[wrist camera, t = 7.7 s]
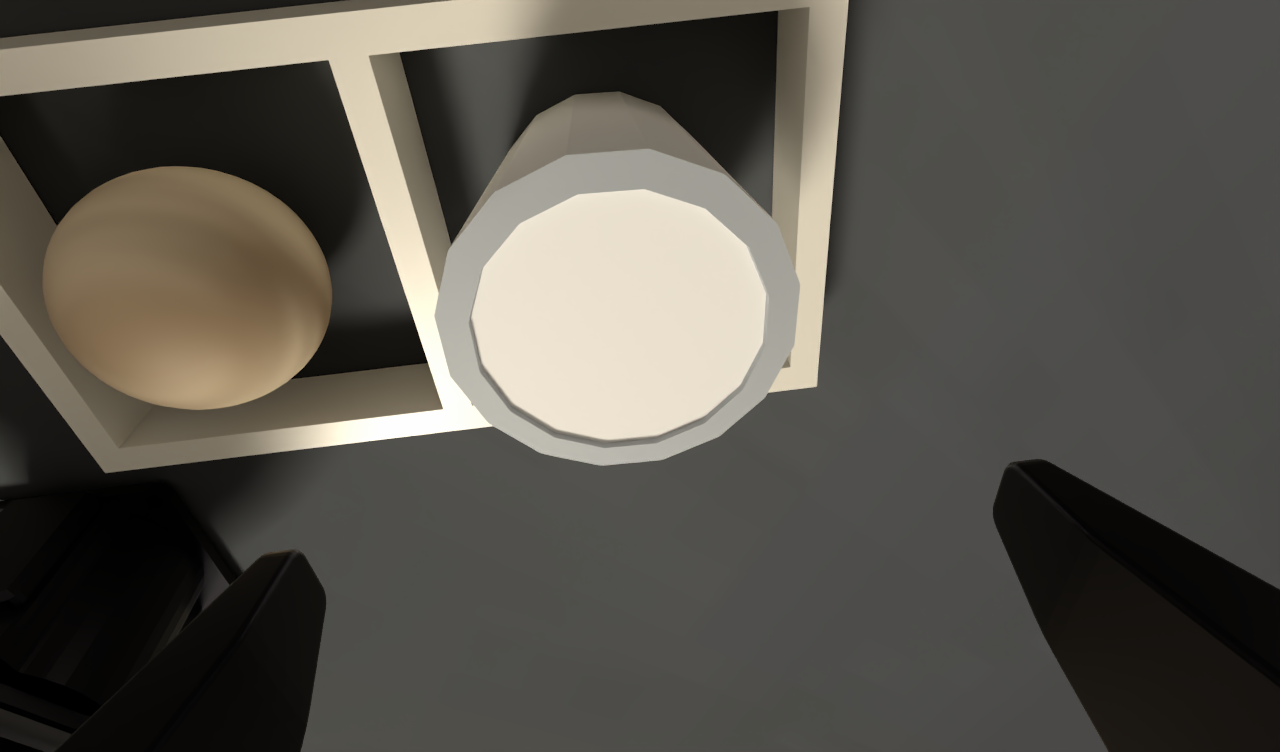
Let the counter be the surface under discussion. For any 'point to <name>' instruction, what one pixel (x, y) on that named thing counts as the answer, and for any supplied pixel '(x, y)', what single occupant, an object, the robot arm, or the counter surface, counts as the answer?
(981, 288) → the counter surface
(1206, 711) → the robot arm
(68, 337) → the tan wooden ball
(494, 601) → the counter surface
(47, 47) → the holder
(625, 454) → the white and grey cylinder
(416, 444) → the counter surface
